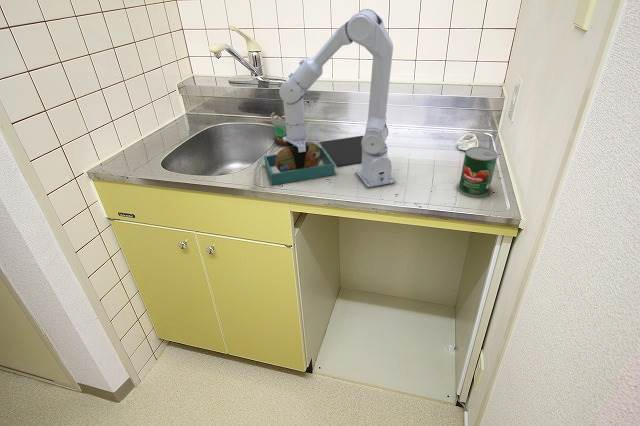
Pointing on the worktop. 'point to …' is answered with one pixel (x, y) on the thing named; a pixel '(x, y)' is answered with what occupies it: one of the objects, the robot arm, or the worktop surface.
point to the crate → (299, 170)
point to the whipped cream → (468, 142)
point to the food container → (279, 128)
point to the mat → (344, 150)
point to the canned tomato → (477, 171)
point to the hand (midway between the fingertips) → (298, 164)
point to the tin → (287, 161)
